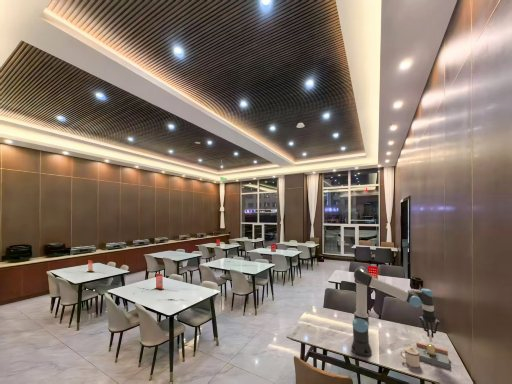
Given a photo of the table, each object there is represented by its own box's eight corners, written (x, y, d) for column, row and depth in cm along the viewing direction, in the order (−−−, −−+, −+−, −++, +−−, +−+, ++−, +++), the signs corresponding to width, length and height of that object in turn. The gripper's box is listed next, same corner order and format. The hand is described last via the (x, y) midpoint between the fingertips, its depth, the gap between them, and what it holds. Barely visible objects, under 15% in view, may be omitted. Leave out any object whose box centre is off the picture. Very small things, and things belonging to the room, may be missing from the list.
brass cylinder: (428, 359, 178) (427, 345, 179) (428, 356, 182) (427, 343, 183) (435, 361, 175) (434, 347, 177) (435, 358, 179) (434, 345, 180)
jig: (415, 358, 179) (415, 350, 180) (416, 349, 192) (416, 341, 192) (449, 369, 167) (448, 360, 168) (448, 358, 180) (447, 350, 180)
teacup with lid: (420, 362, 174) (418, 346, 175) (420, 369, 167) (419, 352, 168) (401, 357, 181) (400, 341, 182) (400, 363, 173) (399, 346, 175)
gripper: (418, 309, 183) (420, 340, 181) (438, 313, 176) (441, 346, 173) (418, 306, 189) (420, 337, 187) (438, 310, 182) (441, 342, 179)
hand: (430, 341), depth 180 cm, fingers closed
